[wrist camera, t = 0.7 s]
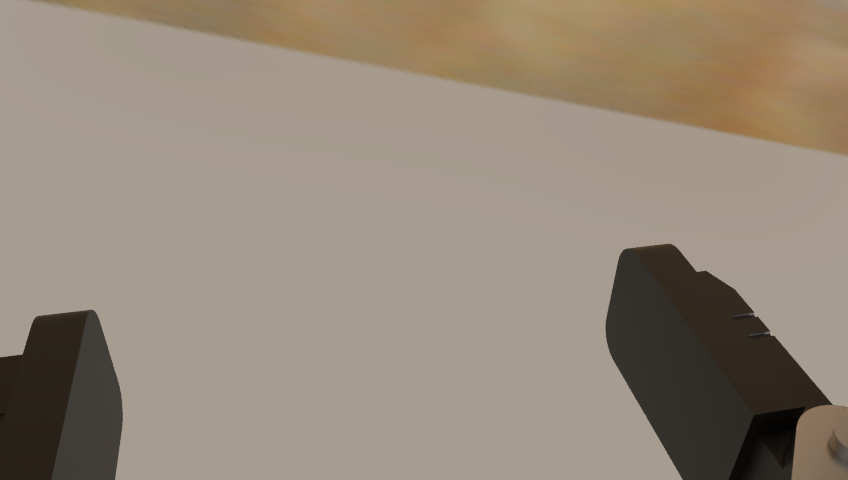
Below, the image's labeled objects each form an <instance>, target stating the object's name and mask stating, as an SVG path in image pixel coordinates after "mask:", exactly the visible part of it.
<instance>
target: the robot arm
mask: <svg viewBox="0 0 848 480" xmlns="http://www.w3.org/2000/svg"><path fill="white" fill-rule="evenodd" d="M606 338H607V343H608V347H609V351H610V353H611V356H612V358H613V360H614V362H615V363H616V365H617V367H618V369H619V370H620V372H621V374H622V375H623V377H624V379H625V381H626V382H627V384H628V386H629V388H630V389H631V391H632V393H633V394H634V396H635V398H636V400H637V401H638V403H639V405H640V406H641V408H642V410H643V412H644V414H645V415H646V416H647V419H648V420H649V422H650V424H651V425H652V427H653V429H654V431H655V432H656V434H657V436H658V438H659V439H660V441H661V443H662V445H663V446H664V448H665V450H666V451H667V453H668V455H669V456H670V458H671V460H672V462H673V463H674V465H675V467H676V469H677V470H678V472H679V474H680V476H681V477H682V479H683V480H848V407H845V406H837V405H832V403H831V402H830V401H829V400H828V399H827V398H826V396H825V395H824V394H823V393H822V392H821V390H820V389H819V388H818V387H817V386H816V385H815V383H814V382H813V381H812V380H811V379H810V378H809V376H808V375H807V374H806V373H805V372H804V371H803V369H802V368H801V367H800V366H799V365H798V363H797V362H796V361H795V360H794V359H793V358H792V356H791V355H790V354H789V353H788V352H787V350H786V349H785V348H784V347H783V346H782V345H781V343H780V342H779V341H778V340H777V339H776V338H775V336H771V335H770V330H769V329H768V328H767V327H766V326H765V325H764V323H763V322H762V321H761V320H760V319H759V318H758V317H755V316H754V312H753V310H752V309H751V308H750V307H749V306H748V305H747V304H746V302H745V301H744V300H743V299H742V297H741V296H740V295H739V294H738V293H737V292H736V290H735V289H733V288H732V287H730V286H728V285H727V284H725V283H724V282H722V281H721V280H719V279H718V278H716V277H715V276H713V275H712V274H710V273H708V272H707V271H701V272H696V271H695V269H694V268H693V267H692V266H691V264H690V263H689V262H688V261H687V260H686V258H685V257H684V256H683V255H682V253H681V252H680V251H679V250H678V249H677V248H676V247H675V246H674V245H672V244H663V245H655V246H646V247H637V248H629V249H625V250H624V251H623V252H622V253H621V255H620V257H619V260H618V265H617V270H616V275H615V279H614V284H613V289H612V294H611V299H610V304H609V309H608V313H607V319H606ZM122 415H123V412H122V399H121V392H120V387H119V383H118V380H117V377H116V373H115V370H114V367H113V363H112V360H111V357H110V354H109V350H108V347H107V344H106V341H105V337H104V334H103V331H102V327H101V324H100V321H99V318H98V316H97V314H96V312H95V311H93V310H86V311H78V312H69V313H61V314H52V315H43V316H37V317H36V318H35V319H34V321H33V323H32V326H31V329H30V333H29V336H28V339H27V342H26V346H25V349H24V352H23V355H16V356H8V357H0V480H115V474H116V468H117V461H118V453H119V446H120V439H121V431H122V420H123V417H122Z"/></svg>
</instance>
